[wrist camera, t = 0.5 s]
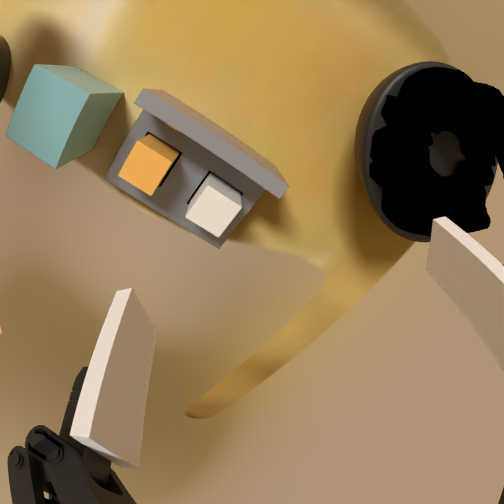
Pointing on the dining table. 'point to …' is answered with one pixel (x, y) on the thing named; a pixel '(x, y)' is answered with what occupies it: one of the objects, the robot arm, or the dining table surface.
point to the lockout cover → (61, 113)
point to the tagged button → (148, 163)
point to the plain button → (214, 205)
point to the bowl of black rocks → (430, 149)
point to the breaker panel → (195, 162)
